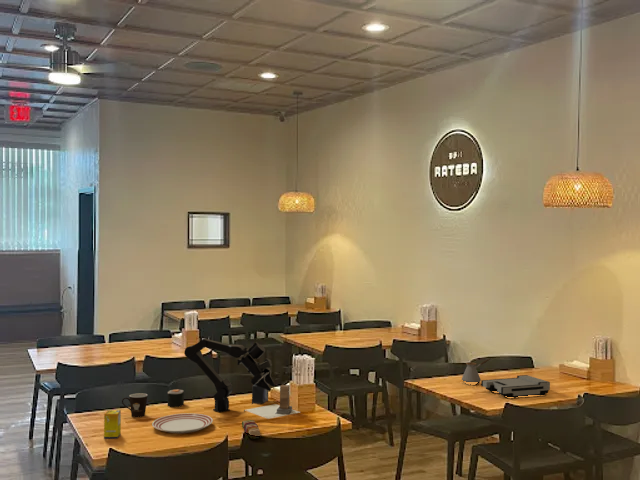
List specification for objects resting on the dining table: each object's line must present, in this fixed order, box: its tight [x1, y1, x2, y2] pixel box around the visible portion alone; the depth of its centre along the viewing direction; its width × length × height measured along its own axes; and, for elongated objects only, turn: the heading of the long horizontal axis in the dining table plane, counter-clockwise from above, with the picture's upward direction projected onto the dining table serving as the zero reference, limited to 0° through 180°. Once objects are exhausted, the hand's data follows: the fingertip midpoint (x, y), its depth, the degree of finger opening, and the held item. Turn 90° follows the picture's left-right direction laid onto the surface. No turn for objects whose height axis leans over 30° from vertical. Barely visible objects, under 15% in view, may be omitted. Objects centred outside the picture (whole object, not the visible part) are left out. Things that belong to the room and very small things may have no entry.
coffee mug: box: [121, 392, 148, 418], centre depth 317 cm, size 12×9×10 cm
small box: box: [251, 383, 269, 405], centre depth 344 cm, size 11×6×10 cm, turn 168°
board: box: [243, 403, 301, 420], centre depth 323 cm, size 20×21×1 cm
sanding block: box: [277, 384, 293, 414], centre depth 322 cm, size 8×6×13 cm
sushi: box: [167, 388, 185, 408], centre depth 338 cm, size 8×8×8 cm
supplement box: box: [103, 409, 122, 440], centre depth 282 cm, size 6×6×11 cm
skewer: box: [241, 419, 261, 437], centre depth 289 cm, size 21×6×5 cm, turn 16°
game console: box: [480, 374, 551, 397], centre depth 373 cm, size 21×32×8 cm, turn 110°
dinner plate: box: [151, 412, 214, 434], centre depth 297 cm, size 27×27×3 cm
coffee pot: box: [461, 357, 493, 383], centre depth 400 cm, size 21×12×15 cm, turn 115°
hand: (272, 388), depth 323 cm, fingers open, 9 cm apart
